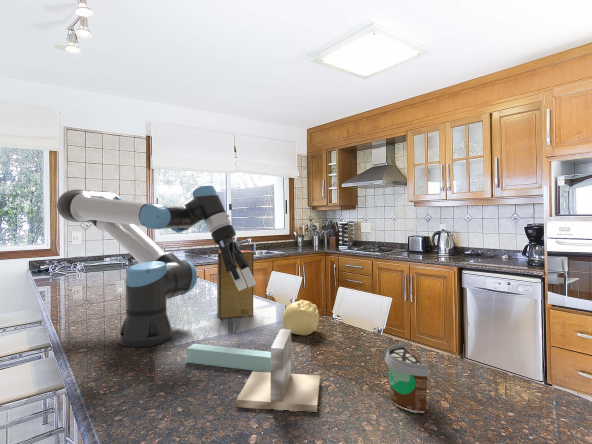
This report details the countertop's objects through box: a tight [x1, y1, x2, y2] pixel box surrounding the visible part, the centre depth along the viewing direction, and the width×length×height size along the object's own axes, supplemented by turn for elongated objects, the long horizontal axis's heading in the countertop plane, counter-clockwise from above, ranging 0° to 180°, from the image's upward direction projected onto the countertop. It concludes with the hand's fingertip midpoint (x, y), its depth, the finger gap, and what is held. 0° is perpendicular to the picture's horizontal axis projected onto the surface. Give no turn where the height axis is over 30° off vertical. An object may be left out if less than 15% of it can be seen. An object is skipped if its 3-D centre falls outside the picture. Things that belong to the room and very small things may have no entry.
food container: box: [384, 343, 430, 412], centre depth 72 cm, size 12×6×10 cm, turn 5°
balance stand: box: [236, 328, 321, 413], centre depth 75 cm, size 16×13×12 cm
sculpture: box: [282, 299, 320, 336], centre depth 116 cm, size 12×12×11 cm
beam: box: [186, 343, 271, 373], centre depth 90 cm, size 26×4×4 cm, turn 76°
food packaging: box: [216, 249, 254, 320], centre depth 137 cm, size 13×9×25 cm
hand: (248, 287), depth 112 cm, fingers open, 13 cm apart
